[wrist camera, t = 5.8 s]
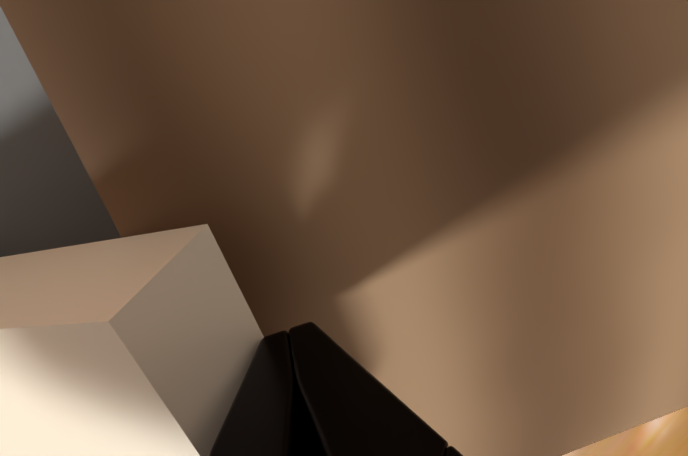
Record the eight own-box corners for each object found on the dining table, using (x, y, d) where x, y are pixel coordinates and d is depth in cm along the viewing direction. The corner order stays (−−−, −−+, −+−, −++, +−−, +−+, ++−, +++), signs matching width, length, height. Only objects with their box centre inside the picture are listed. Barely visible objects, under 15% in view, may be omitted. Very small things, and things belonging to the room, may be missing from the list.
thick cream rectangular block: (207, 223, 6) (108, 321, 5) (338, 485, 9) (303, 606, 7) (-132, 278, 10) (-257, 346, 8) (34, 456, 12) (-36, 534, 11)
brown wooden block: (715, -219, 10) (988, -346, 6) (653, 295, 16) (771, 373, 13) (55, -68, 8) (-68, -125, 5) (275, 430, 15) (291, 560, 11)
